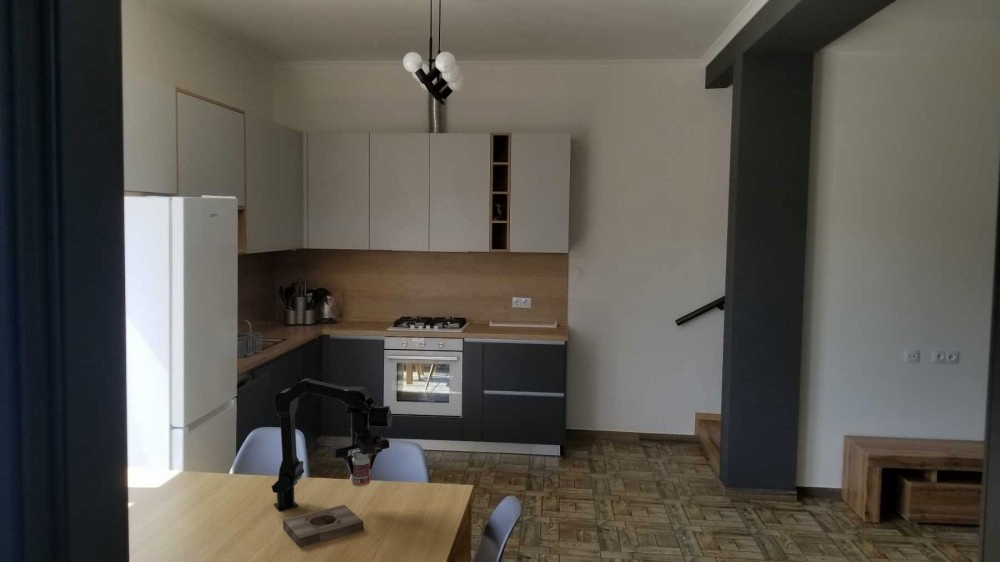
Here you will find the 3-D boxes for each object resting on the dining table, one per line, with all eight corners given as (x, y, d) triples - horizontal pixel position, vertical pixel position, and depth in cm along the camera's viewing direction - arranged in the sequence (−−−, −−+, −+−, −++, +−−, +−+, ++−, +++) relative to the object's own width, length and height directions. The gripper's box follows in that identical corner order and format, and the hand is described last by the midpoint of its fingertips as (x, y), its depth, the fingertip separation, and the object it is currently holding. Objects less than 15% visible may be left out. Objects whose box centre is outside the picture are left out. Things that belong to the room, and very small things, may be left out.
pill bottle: (373, 484, 227) (372, 451, 227) (355, 488, 224) (355, 454, 223) (366, 479, 233) (365, 446, 232) (348, 483, 229) (348, 449, 228)
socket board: (283, 528, 215) (282, 519, 215) (344, 513, 226) (344, 504, 226) (299, 548, 202) (299, 538, 201) (363, 530, 213) (363, 521, 213)
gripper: (342, 437, 215) (343, 485, 216) (396, 427, 225) (397, 473, 227) (329, 428, 224) (330, 475, 225) (382, 419, 235) (382, 464, 236)
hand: (360, 472), depth 228 cm, fingers closed on pill bottle, 6 cm apart
